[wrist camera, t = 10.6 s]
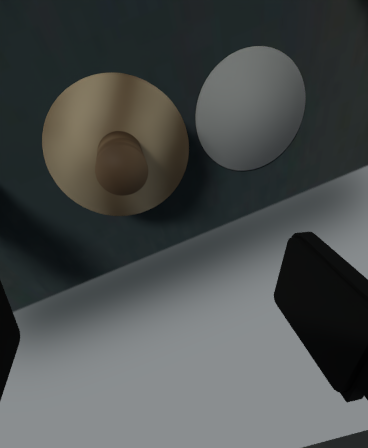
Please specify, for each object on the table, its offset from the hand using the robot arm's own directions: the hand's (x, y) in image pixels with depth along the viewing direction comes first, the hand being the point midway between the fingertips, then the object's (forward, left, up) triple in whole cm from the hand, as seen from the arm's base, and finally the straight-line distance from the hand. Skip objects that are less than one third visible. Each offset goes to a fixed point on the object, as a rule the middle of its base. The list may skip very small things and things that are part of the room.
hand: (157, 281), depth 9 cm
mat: (-15, -1, -26) cm, 30 cm away
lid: (+1, +1, -20) cm, 20 cm away
